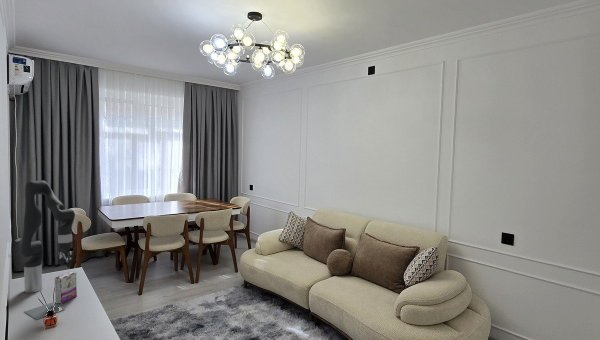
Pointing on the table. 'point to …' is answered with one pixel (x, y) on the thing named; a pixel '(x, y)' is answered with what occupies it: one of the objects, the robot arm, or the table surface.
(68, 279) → the candy bar box
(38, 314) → the mat
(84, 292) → the table surface
